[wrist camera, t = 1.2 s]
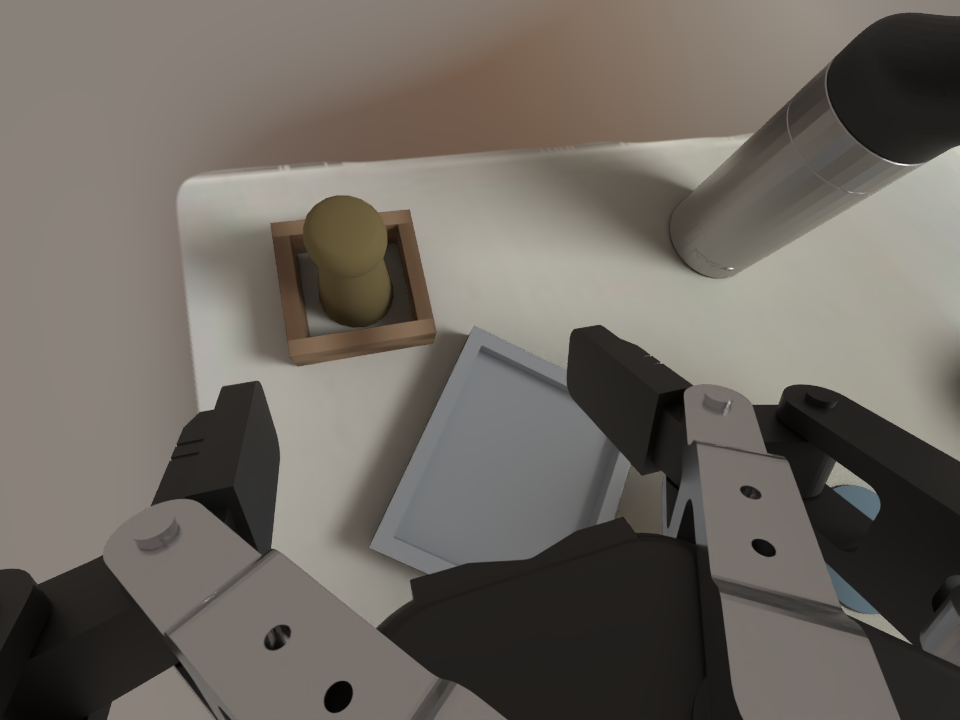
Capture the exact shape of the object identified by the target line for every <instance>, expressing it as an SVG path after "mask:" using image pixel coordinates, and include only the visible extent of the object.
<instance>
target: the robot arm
mask: <svg viewBox="0 0 960 720" xmlns="http://www.w3.org/2000/svg"><path fill="white" fill-rule="evenodd" d="M959 145H960V16H943V15H933V14H923V13H900V14H895V15H891V16H887V17H885V18H882V19H880V20H878V21H876V22H875V23H873V24H872V25H870V26H869V27H867V28H866V29H865V30H864V31H862V33H860V34H859V35H858V36H857V37H856V38H855V39H853V40H852V41H851V42H850V43H849V44H848V45H847V46H846V47H845V48H844V49H843V50H842V51H841V52H840V53H839V54H838V55H837V56H836V57H835V58H834V59H833V60H831V61H830V62H829V63H828V64H827V65H826V66H825V67H824V68H823V69H822V70H821V71H820V72H819V73H818V74H817V75H816V76H815V77H814V78H812V79H811V80H810V81H809V82H808V83H807V84H806V85H805V86H804V87H803V88H802V89H801V90H800V91H799V92H798V93H797V94H796V95H795V96H794V97H793V98H792V99H791V100H789V101H788V102H787V103H786V104H785V105H784V106H783V107H782V108H781V109H780V110H779V111H778V112H777V113H776V114H775V115H774V116H773V117H771V118H770V119H769V121H767V122H766V123H765V124H764V125H763V126H762V127H761V128H760V129H759V130H758V131H757V132H756V133H755V134H754V135H752V136H751V137H750V138H749V139H748V140H747V141H746V142H745V143H744V144H743V145H742V146H741V147H740V148H739V149H738V150H737V151H736V152H734V153H733V154H732V155H731V156H730V157H729V158H728V159H727V160H726V161H725V162H724V163H723V164H722V165H721V166H720V167H719V168H718V169H716V170H715V171H714V172H713V173H712V174H711V175H710V176H709V177H708V178H707V179H706V180H705V181H704V182H703V183H701V184H700V185H699V186H698V187H697V188H696V189H695V190H694V191H693V192H692V193H691V194H690V195H689V196H688V197H687V198H686V199H685V200H684V201H682V202H681V203H680V204H679V205H678V206H677V208H676V209H675V210H674V212H673V214H672V217H671V220H670V235H671V239H672V242H673V245H674V247H675V249H676V251H677V253H678V254H679V255H680V257H681V258H682V259H683V260H684V262H685V263H687V264H688V265H689V266H690V267H691V268H692V269H694V270H696V271H697V272H699V273H701V274H703V275H706V276H708V277H713V278H727V277H731V276H734V275H735V274H737V273H739V272H741V271H742V270H744V269H746V268H747V267H749V266H751V265H753V264H754V263H756V262H758V261H760V260H761V259H763V258H765V257H767V256H769V255H770V254H772V253H774V252H775V251H777V250H779V249H780V248H782V247H784V246H786V245H787V244H789V243H791V242H792V241H794V240H796V239H798V238H799V237H801V236H803V235H804V234H806V233H808V232H809V231H811V230H813V229H815V228H816V227H818V226H820V225H821V224H823V223H825V222H826V221H828V220H830V219H832V218H833V217H835V216H837V215H838V214H840V213H842V212H844V211H845V210H847V209H849V208H850V207H852V206H854V205H855V204H857V203H859V202H861V201H862V200H864V199H866V198H867V197H869V196H871V195H873V194H874V193H876V192H878V191H879V190H881V189H882V188H884V187H886V186H887V185H889V184H891V183H893V182H894V181H896V180H898V179H899V178H901V177H903V176H905V175H906V174H908V173H910V172H911V171H913V170H915V169H916V168H918V167H920V166H922V165H923V164H925V163H927V162H928V161H930V160H931V159H933V158H935V157H937V156H938V155H940V154H942V153H944V152H945V151H947V150H949V149H951V148H953V147H956V146H959ZM566 380H567V387H568V391H569V394H570V396H571V397H572V399H573V400H574V401H575V402H576V404H577V405H578V406H579V407H580V408H581V409H582V410H583V411H584V412H585V413H586V415H587V416H588V417H589V418H590V419H591V420H592V421H593V422H594V423H595V424H596V426H597V427H598V428H599V429H600V430H601V431H602V432H603V433H604V434H605V435H606V437H607V438H608V439H609V440H610V441H611V442H612V443H613V444H614V445H615V446H616V448H617V449H618V450H619V451H620V452H621V453H622V454H623V455H624V456H625V458H626V459H627V460H628V461H629V462H630V463H631V464H632V465H633V466H634V467H635V469H636V470H637V471H638V472H639V473H640V474H641V475H642V476H643V475H646V474H650V473H654V472H657V471H661V470H662V471H663V472H664V473H665V475H664V479H663V484H662V535H659V534H652V533H635V532H634V530H633V529H632V528H631V526H630V525H629V524H628V523H627V521H626V520H625V519H624V517H621V518H618V519H614V520H611V521H608V522H604V523H601V524H597V525H594V526H591V527H587V528H584V529H581V530H577V531H575V532H573V533H572V534H570V535H568V536H567V537H565V538H564V539H562V540H560V541H559V542H557V543H556V544H554V545H552V546H551V547H549V548H547V549H546V550H544V551H543V552H541V553H539V554H538V555H536V556H534V557H532V558H530V559H525V560H510V561H492V562H475V563H466V564H463V565H459V566H456V567H452V568H449V569H446V570H442V571H439V572H436V573H432V574H429V575H425V576H422V577H419V578H415V579H412V580H410V583H411V590H412V596H413V600H411V601H410V602H408V603H406V604H405V605H403V606H402V607H400V608H399V609H398V610H396V611H395V612H394V613H392V614H391V615H390V616H389V617H388V618H387V619H385V620H384V621H383V622H382V623H381V624H380V625H379V626H378V627H377V628H374V627H373V626H372V625H371V624H369V623H368V622H367V621H366V620H364V619H363V618H362V617H361V616H359V615H358V614H357V613H356V612H354V611H353V610H352V609H351V608H350V607H348V606H347V605H346V604H345V603H343V602H342V601H341V600H340V599H338V598H337V597H336V596H335V595H333V594H332V593H331V592H330V591H328V590H327V589H326V588H325V587H323V586H322V585H321V584H320V583H319V582H317V581H316V580H315V579H314V578H312V577H311V576H310V575H309V574H307V573H306V572H305V571H304V570H302V569H301V568H300V567H299V566H297V565H296V564H295V563H294V562H292V561H291V560H290V559H289V558H288V557H286V556H285V555H284V554H282V553H281V552H279V551H278V550H275V549H271V543H272V533H273V523H274V513H275V503H276V493H277V483H278V473H279V464H280V450H279V443H278V438H277V434H276V430H275V427H274V424H273V420H272V417H271V414H270V411H269V407H268V404H267V401H266V397H265V394H264V391H263V388H262V385H261V383H260V382H259V381H253V382H246V383H240V384H234V385H228V386H223V387H222V388H221V391H220V394H219V397H218V400H217V403H216V406H215V409H214V410H209V411H203V412H199V413H198V414H197V415H196V416H195V417H194V418H193V419H192V420H191V421H190V422H189V423H188V424H187V425H186V426H185V427H184V428H183V430H182V433H181V435H180V437H179V440H178V442H177V447H175V450H174V452H173V454H172V457H171V459H172V461H170V462H169V464H168V466H167V468H166V471H165V473H164V476H163V478H162V480H161V483H160V485H159V488H158V490H157V492H156V495H155V497H154V500H153V502H152V504H151V507H149V508H147V509H145V510H143V511H141V512H139V513H137V514H136V515H134V516H133V517H131V518H130V519H128V520H127V521H126V522H124V523H123V524H122V525H121V526H120V527H119V528H118V529H117V530H116V531H115V532H114V533H113V534H112V536H111V537H110V538H109V540H108V541H107V543H106V545H105V547H104V552H103V555H102V556H100V557H98V558H96V559H94V560H92V561H90V562H88V563H86V564H83V565H81V566H79V567H77V568H74V569H72V570H70V571H68V572H65V573H63V574H61V575H58V576H56V577H54V578H52V579H50V580H47V581H45V582H43V583H40V584H37V583H36V582H35V581H34V579H33V578H32V577H31V575H30V574H29V573H27V572H26V571H23V570H20V569H4V570H0V720H107V717H108V714H109V710H110V707H111V703H112V701H114V700H116V699H117V698H119V697H121V696H122V695H124V694H126V693H128V692H129V691H131V690H132V689H134V688H136V687H138V686H139V685H141V684H143V683H144V682H146V681H148V680H149V679H151V678H153V677H155V676H157V675H158V674H160V673H162V672H163V671H165V670H167V669H168V668H170V667H172V666H173V667H174V669H175V670H176V671H177V673H178V674H179V675H180V677H181V678H182V679H183V680H184V682H185V683H186V684H187V686H188V687H189V688H190V689H191V691H192V692H193V693H194V695H195V696H196V697H197V698H198V700H199V701H200V702H201V703H202V705H203V706H204V707H205V709H206V710H207V711H208V713H209V714H210V715H211V716H212V718H213V719H214V720H960V462H959V461H958V460H956V459H954V458H952V457H951V456H949V455H947V454H945V453H944V452H942V451H940V450H938V449H937V448H935V447H933V446H931V445H929V444H928V443H926V442H924V441H922V440H921V439H919V438H917V437H915V436H914V435H912V434H910V433H908V432H907V431H905V430H903V429H901V428H900V427H898V426H896V425H894V424H893V423H891V422H889V421H887V420H886V419H884V418H882V417H880V416H878V415H877V414H875V413H873V412H871V411H870V410H868V409H866V408H864V407H863V406H861V405H859V404H857V403H856V402H854V401H852V400H850V399H849V398H847V397H845V396H843V395H841V394H839V393H837V392H834V391H832V390H829V389H826V388H822V387H818V386H812V385H792V386H789V387H787V388H785V389H784V391H783V394H782V396H781V399H780V402H779V404H778V405H752V404H751V402H750V401H749V400H748V399H747V398H746V397H744V396H743V395H742V394H740V393H738V392H736V391H734V390H731V389H728V388H725V387H722V386H717V385H709V384H702V385H695V386H693V385H692V384H691V383H689V382H688V381H686V380H685V379H684V378H682V377H681V376H679V375H678V374H677V373H675V372H674V371H672V370H671V369H670V368H668V367H667V366H665V365H664V364H660V361H658V360H657V359H656V358H654V357H653V356H651V357H650V354H649V353H647V352H646V351H644V350H643V349H642V348H640V347H639V346H637V345H635V344H632V343H630V342H627V341H625V340H622V339H620V338H618V337H617V336H616V335H614V334H613V333H611V332H610V331H609V330H607V329H606V328H605V327H603V326H602V325H595V326H589V327H583V328H577V329H574V330H573V331H572V333H571V335H570V343H569V354H568V366H567V379H566ZM836 461H837V462H838V463H840V464H841V465H842V466H844V467H845V468H847V469H848V470H849V471H851V472H852V473H854V474H855V475H856V476H858V477H859V478H861V479H862V480H864V481H865V482H866V483H868V484H869V485H870V486H871V487H872V488H873V489H874V490H875V491H876V493H877V495H878V497H879V499H880V510H879V512H878V514H877V516H876V518H875V519H874V521H873V520H872V519H870V518H869V517H868V516H866V515H865V514H864V513H863V512H861V511H860V510H859V509H857V508H856V507H855V506H854V505H852V504H851V503H850V502H848V501H847V500H846V499H844V498H843V497H842V496H841V495H839V494H838V493H837V492H835V491H834V490H833V489H832V488H830V487H829V486H828V485H826V481H827V479H828V477H829V475H830V473H831V471H832V469H833V467H834V465H835V463H836ZM825 562H826V563H827V564H828V565H829V566H830V567H831V568H832V569H833V570H834V571H835V572H836V573H837V574H838V575H839V576H840V577H841V578H843V579H844V580H845V581H846V582H847V583H848V584H849V585H850V586H851V587H852V588H853V589H854V590H855V591H856V592H857V593H859V594H860V595H861V596H862V597H863V598H864V599H865V600H866V601H867V602H868V603H869V604H870V605H871V606H872V607H873V608H874V609H876V610H877V611H878V612H879V613H880V614H881V615H882V616H883V617H884V618H885V619H886V620H887V621H888V622H889V623H890V624H892V625H893V626H894V627H895V628H896V629H897V630H898V631H899V632H900V633H901V634H902V635H903V636H904V637H905V638H906V639H907V640H909V641H910V642H911V643H912V644H913V645H911V644H909V643H907V642H905V641H903V640H901V639H898V638H896V637H894V636H892V635H890V634H888V633H885V632H883V631H881V630H879V629H877V628H875V627H872V626H870V625H868V624H866V623H864V622H862V621H859V620H857V619H855V618H853V617H851V616H849V615H846V614H845V613H844V612H843V610H842V608H841V606H840V603H839V600H838V598H837V595H836V592H835V589H834V587H833V584H832V581H831V578H830V575H829V573H828V570H827V567H826V564H825Z"/></svg>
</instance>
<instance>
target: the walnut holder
mask: <svg viewBox="0 0 960 720" xmlns="http://www.w3.org/2000/svg"><path fill="white" fill-rule="evenodd" d="M379 214H380V216H381V218H382V220H383V222H384V225H385V227H386V229H387V243H395V242H398V247H399V252H400V257H401V262H402V266H403V271H404V276H405V281H406V286H407V290H408V295H409V300H410V305H411V309H412V314H413V319H414V321H411V322H404V323H398V324H392V325H385V326H379V327H373V328H366V329H360V330H354V331H347V332H341V333H335V334H328V335H322V336H315V337H310V334H309V328H308V321H307V315H306V309H305V302H304V296H303V289H302V283H301V277H300V270H299V264H298V258H297V254H300V253H308V252H307V249H306V247H305V245H304V242H303V225H304V222H305V220H298V221H288V222H277V223H271V230H272V237H273V244H274V251H275V258H276V264H277V271H278V278H279V285H280V292H281V299H282V305H283V312H284V319H285V326H286V333H287V340H288V346H289V353H290V357H291V358H292V360H293V361H294V362H295V363H296V364H297V365H298V366H303V365H309V364H315V363H321V362H326V361H332V360H338V359H344V358H350V357H356V356H362V355H367V354H373V353H379V352H385V351H391V350H397V349H403V348H408V347H414V346H420V345H426V344H432V343H433V342H434V339H435V336H436V333H437V332H436V328H435V323H434V318H433V314H432V309H431V305H430V300H429V296H428V291H427V286H426V282H425V277H424V273H423V268H422V264H421V259H420V254H419V250H418V245H417V241H416V236H415V232H414V227H413V222H412V218H411V213H410V210H400V211H389V212H379Z"/></svg>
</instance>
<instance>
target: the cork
mask: <svg viewBox="0 0 960 720" xmlns="http://www.w3.org/2000/svg"><path fill="white" fill-rule="evenodd" d="M303 242H304V245H305V247H306V249H307V252H308V254H309V257H310V258H311V259H312V260H313V261H314V263H315V264H316V265H317V266H318V278H319V299H320V302H321V305H322V307H323V310H324V311H325V312H326V313H327V314H328V316H329V317H330V318H331V319H333V320H334V321H336V322H338V323H339V324H341V325H345V326H349V327H365V326H368V325H371V324H374V323H376V322H377V321H379V320H380V319H381V318H383V317H384V316H385V315H386V313H387V312H388V310H389V309H390V307H391V304H392V300H393V287H392V284H391V281H390V278H389V274H388V271H387V268H386V265H385V262H384V259H383V257H384V255H385V251H386V248H387V229H386V227H385V225H384V222H383V220H382V218H381V216H380V214H379V213H378V212H377V211H376V210H375V209H374V208H373V207H372V206H371V205H370V204H368V203H366V202H365V201H363V200H361V199H358V198H355V197H351V196H333V197H329V198H326V199H324V200H323V201H321V202H319V203H318V204H316V205H315V206H314V207H313V208H312V209H311V211H310V212H309V213H308V214H307V217H306V219H305V222H304V225H303Z"/></svg>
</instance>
